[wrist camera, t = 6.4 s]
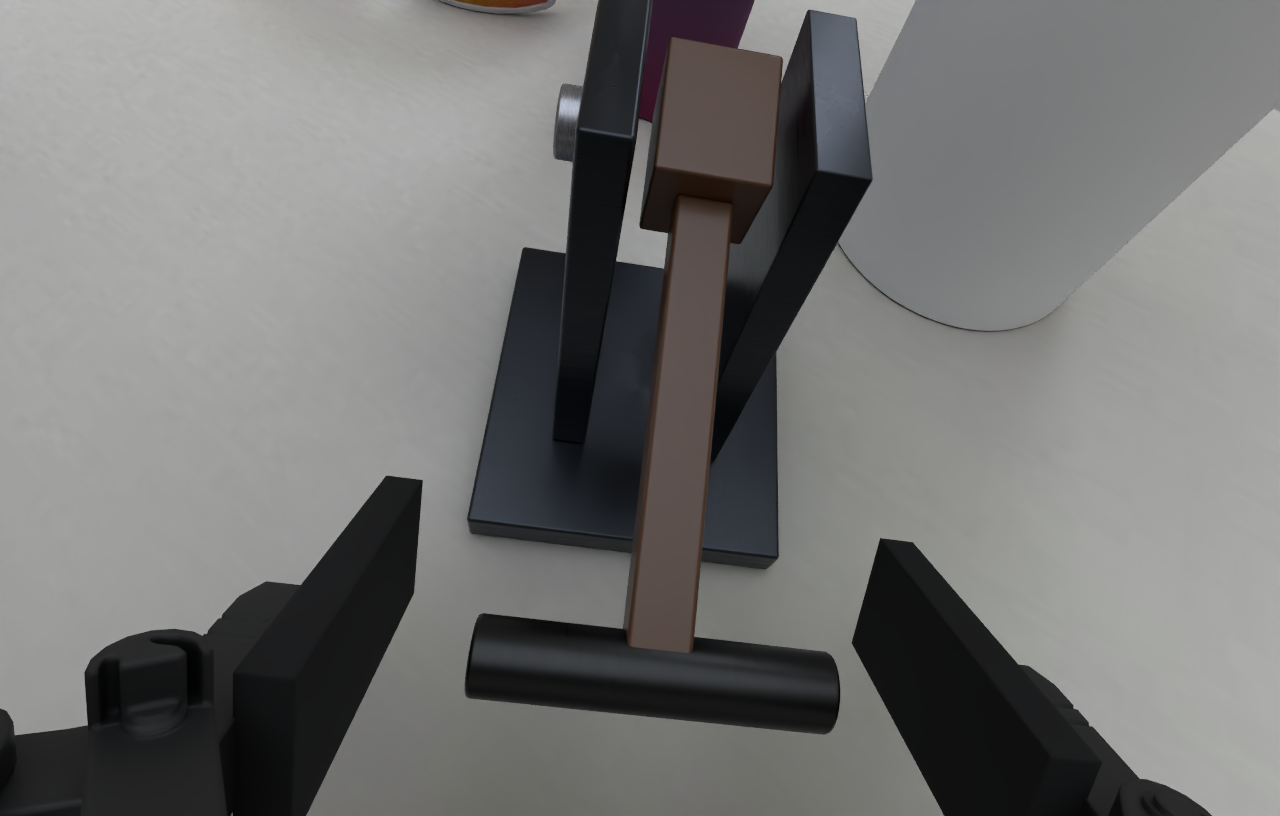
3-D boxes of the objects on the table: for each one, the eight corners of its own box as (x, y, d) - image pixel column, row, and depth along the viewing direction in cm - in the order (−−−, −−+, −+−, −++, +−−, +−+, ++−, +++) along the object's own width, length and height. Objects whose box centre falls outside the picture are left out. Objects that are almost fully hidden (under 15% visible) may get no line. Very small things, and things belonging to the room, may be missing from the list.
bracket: (767, 570, 22) (1016, 336, 11) (469, 534, 21) (408, 242, 10) (766, 304, 27) (938, -46, 16) (522, 267, 26) (521, -128, 15)
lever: (801, 720, 13) (853, 750, 11) (473, 686, 13) (455, 710, 11) (834, 144, 16) (880, 73, 14) (567, 98, 16) (569, 16, 13)
